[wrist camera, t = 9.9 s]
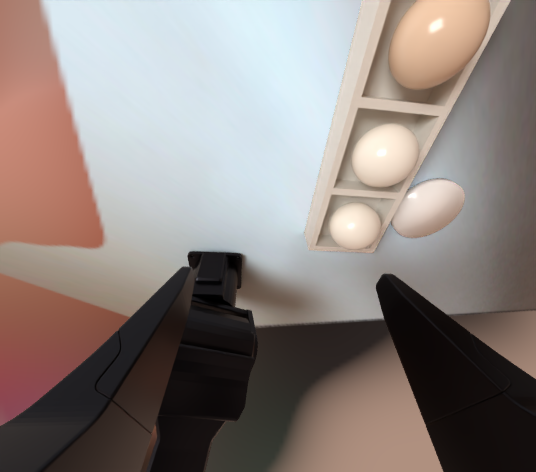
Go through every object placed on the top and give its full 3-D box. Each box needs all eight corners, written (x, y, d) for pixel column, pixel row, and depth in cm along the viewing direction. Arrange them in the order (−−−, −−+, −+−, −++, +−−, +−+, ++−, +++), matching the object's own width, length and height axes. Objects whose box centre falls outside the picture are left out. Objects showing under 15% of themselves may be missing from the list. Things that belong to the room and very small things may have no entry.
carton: (362, 235, 26) (373, 252, 23) (303, 232, 25) (308, 250, 23) (485, -25, 13) (534, -45, 11) (373, -44, 12) (399, -70, 10)
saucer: (434, 234, 26) (438, 239, 25) (380, 232, 25) (383, 236, 25) (474, 180, 22) (480, 184, 21) (409, 175, 21) (414, 179, 20)
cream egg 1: (359, 231, 24) (377, 261, 20) (319, 229, 24) (330, 259, 20) (375, 194, 21) (400, 221, 18) (330, 191, 21) (346, 218, 17)
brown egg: (421, 89, 16) (474, 97, 12) (364, 83, 15) (402, 88, 12) (461, -1, 13) (544, -25, 10) (393, -14, 12) (455, -45, 9)
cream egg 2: (384, 175, 20) (412, 199, 16) (336, 171, 20) (354, 195, 16) (409, 120, 17) (450, 135, 13) (354, 114, 17) (380, 128, 13)
